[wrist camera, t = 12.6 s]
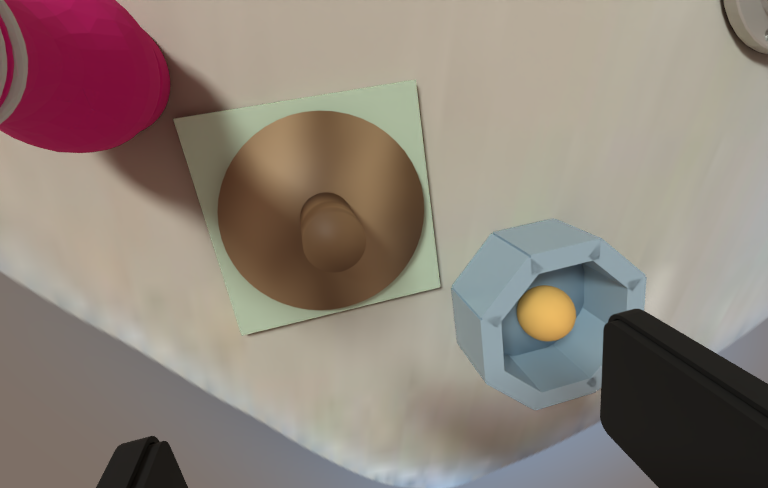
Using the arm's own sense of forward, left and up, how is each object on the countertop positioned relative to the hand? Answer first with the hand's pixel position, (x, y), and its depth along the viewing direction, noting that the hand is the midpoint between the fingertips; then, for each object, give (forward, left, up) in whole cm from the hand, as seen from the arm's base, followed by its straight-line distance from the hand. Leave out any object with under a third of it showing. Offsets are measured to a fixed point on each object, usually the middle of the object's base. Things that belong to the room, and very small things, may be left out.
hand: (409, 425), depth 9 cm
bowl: (-14, +10, -20) cm, 26 cm away
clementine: (-14, +10, -19) cm, 25 cm away
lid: (0, 0, -19) cm, 19 cm away
